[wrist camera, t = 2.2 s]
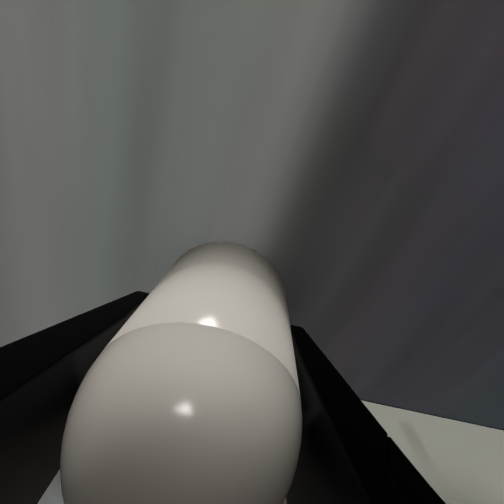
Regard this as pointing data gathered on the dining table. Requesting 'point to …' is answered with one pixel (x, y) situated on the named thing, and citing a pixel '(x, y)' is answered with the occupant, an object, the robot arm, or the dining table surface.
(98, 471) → the egg
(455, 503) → the carton
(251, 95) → the dining table surface
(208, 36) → the dining table surface
